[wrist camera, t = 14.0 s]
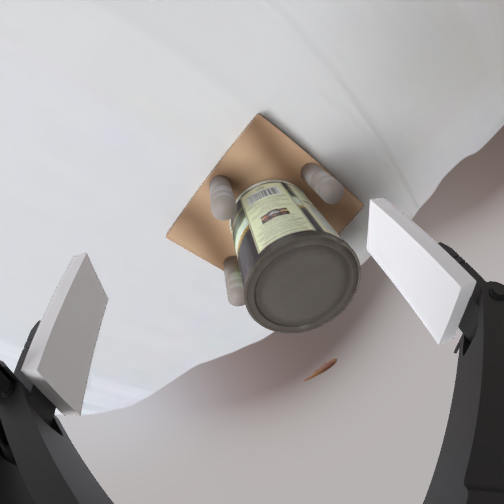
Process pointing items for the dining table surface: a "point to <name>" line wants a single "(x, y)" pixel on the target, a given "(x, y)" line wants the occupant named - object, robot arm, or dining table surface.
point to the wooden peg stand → (242, 177)
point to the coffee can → (291, 259)
